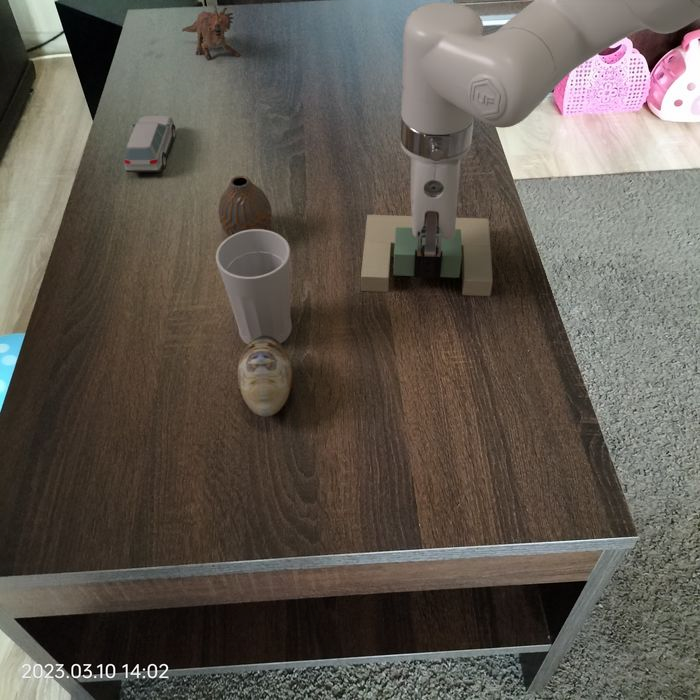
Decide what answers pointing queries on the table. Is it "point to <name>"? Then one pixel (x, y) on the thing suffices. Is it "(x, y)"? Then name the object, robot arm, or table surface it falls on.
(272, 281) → the cup
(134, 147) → the toy car
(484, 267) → the beige c-shaped block
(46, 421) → the table surface
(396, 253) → the green block
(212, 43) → the dinosaur figurine
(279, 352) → the seashell
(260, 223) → the vase
